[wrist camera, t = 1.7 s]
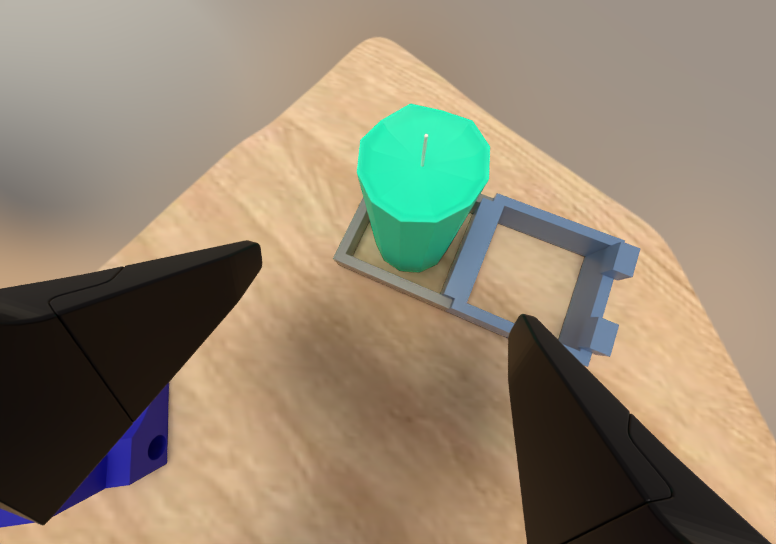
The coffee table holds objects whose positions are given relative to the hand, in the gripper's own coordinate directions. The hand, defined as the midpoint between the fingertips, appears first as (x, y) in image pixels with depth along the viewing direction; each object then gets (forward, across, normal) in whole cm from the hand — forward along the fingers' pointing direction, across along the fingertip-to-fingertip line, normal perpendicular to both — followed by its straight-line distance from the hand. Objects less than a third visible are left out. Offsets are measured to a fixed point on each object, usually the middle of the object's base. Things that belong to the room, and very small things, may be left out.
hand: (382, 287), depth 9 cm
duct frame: (+13, -4, +5) cm, 14 cm away
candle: (+13, 0, +4) cm, 14 cm away
